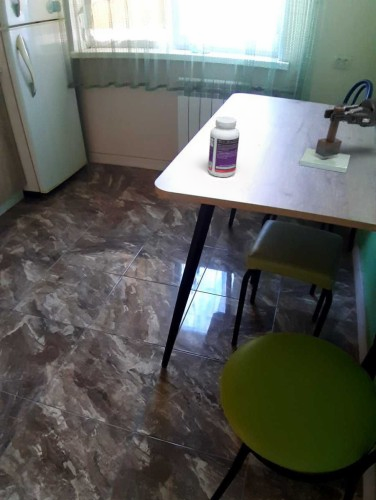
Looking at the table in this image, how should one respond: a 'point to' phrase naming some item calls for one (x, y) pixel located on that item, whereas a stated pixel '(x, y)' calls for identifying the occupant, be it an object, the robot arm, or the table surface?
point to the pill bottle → (223, 147)
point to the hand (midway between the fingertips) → (328, 115)
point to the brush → (330, 139)
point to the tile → (325, 161)
